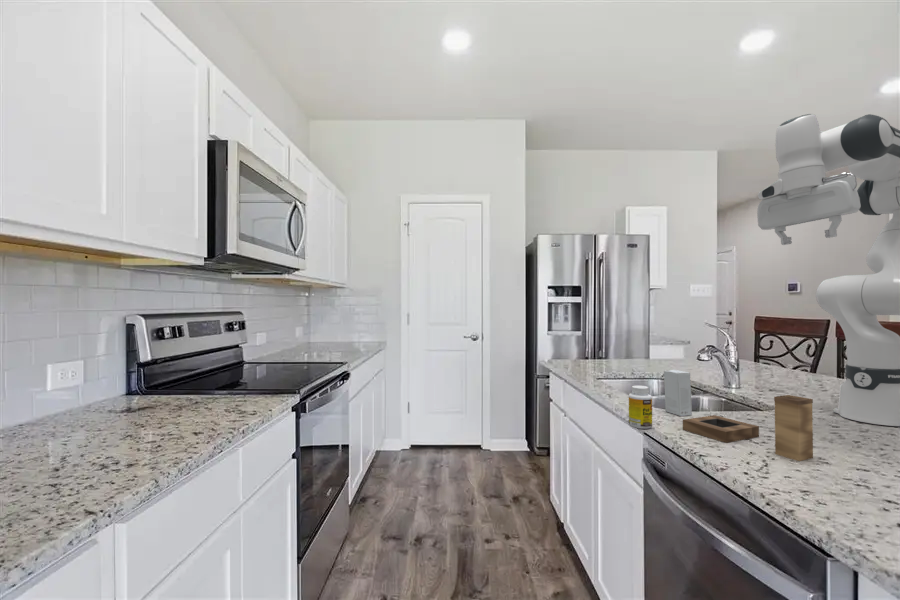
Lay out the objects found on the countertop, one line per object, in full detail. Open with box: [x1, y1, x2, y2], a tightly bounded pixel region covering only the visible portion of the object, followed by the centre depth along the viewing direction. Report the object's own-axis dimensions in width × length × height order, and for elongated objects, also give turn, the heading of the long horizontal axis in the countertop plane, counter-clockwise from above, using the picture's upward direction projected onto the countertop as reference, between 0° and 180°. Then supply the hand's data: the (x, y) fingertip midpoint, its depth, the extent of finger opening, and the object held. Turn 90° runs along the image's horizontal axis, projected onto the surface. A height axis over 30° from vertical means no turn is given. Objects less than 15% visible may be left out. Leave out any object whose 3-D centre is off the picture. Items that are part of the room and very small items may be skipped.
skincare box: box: [663, 369, 693, 417], centre depth 127 cm, size 6×4×12 cm
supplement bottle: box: [628, 385, 653, 430], centre depth 114 cm, size 6×6×10 cm
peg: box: [773, 394, 814, 462], centre depth 92 cm, size 5×5×12 cm
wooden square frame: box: [682, 414, 760, 443], centre depth 108 cm, size 11×11×2 cm
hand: (808, 241), depth 106 cm, fingers open, 8 cm apart
